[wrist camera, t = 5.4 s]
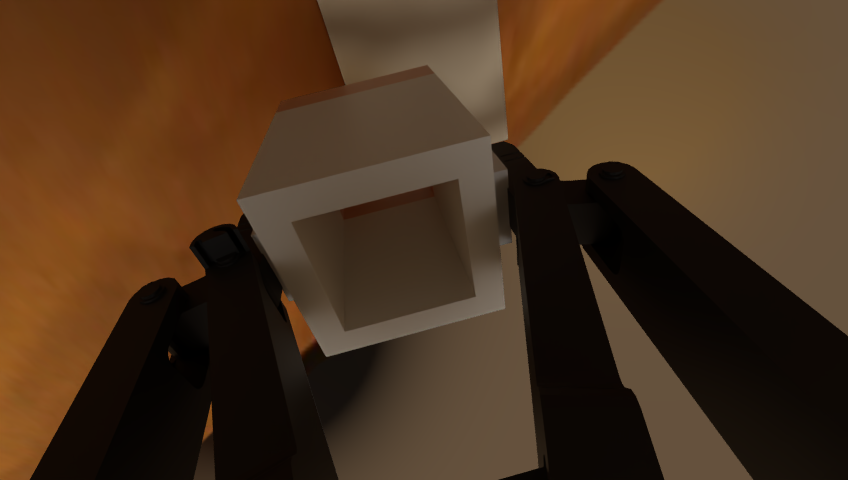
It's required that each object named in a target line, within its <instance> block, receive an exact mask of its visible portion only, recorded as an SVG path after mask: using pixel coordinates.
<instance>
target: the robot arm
mask: <svg viewBox="0 0 848 480" xmlns="http://www.w3.org/2000/svg"><path fill="white" fill-rule="evenodd" d="M491 147H492V159H493V170H494V182H495V194H496V206H497V218H498V229H499V241H500V245H504V244H507V243H511V242H512V236H511V229H512V231H513V232H514V234H515V235H516V244H517V262H518V263H517V264H518V266H519V275H520V285H521V295H522V305H523V315H524V323H525V324H524V325H525V334H526V344H527V354H528V364H529V374H530V384H531V393H532V403H533V413H534V423H535V433H536V442H537V453H538V464H539V465H538V466H539V468H538V469H535V470H531V471H528V472H524V473H521V474H517V475H514V476H510V477H507V478H503V479H500V480H664V477H663V474H662V471H661V469H660V465H659V462H658V459H657V456H656V453H655V450H654V447H653V444H652V441H651V438H650V435H649V432H648V429H647V426H646V422H645V420H644V417H643V413H642V410H641V408H640V405H639V403H638V400H637V398H636V396H635V394H634V393H633V391H632V390H631V389H628V388H625V387H624V386H623V384H622V382H621V379H620V377H619V373H618V370H617V367H616V364H615V360H614V357H613V354H612V351H611V347H610V344H609V341H608V337H607V334H606V331H605V327H604V324H603V321H602V317H601V314H600V311H599V308H598V304H597V301H596V298H595V294H594V291H593V288H592V285H591V281H590V279H589V275H588V272H587V268H586V265H585V262H584V258H583V255H582V252H581V248H580V245H582V246H583V249H584V250H585V251H586V252H587V254H588V255H589V257H590V258H591V259H592V261H593V262H594V263H595V265H596V266H597V267H598V269H599V270H600V272H601V273H602V274H603V276H604V277H605V278H606V280H607V281H608V283H609V284H610V285H611V287H612V288H613V289H614V291H615V292H616V293H617V295H618V296H619V297H620V299H621V300H622V301H623V303H624V304H625V306H626V307H627V308H628V310H629V311H630V312H631V314H632V315H633V317H634V318H635V319H636V321H637V322H638V323H639V325H640V326H641V327H642V329H643V330H644V331H645V333H646V334H647V336H648V337H649V338H650V339H651V341H652V342H653V344H654V345H655V346H656V348H657V349H658V351H659V352H660V353H661V355H662V356H663V357H664V358H665V360H666V361H667V363H668V364H669V365H670V367H671V368H672V370H673V371H674V372H675V374H676V375H677V376H678V378H679V379H680V380H681V382H682V383H683V385H684V386H685V387H686V388H687V390H688V391H689V393H690V394H691V395H692V397H693V398H694V399H695V401H696V402H697V404H698V405H699V406H700V407H701V409H702V410H703V412H704V413H705V414H706V416H707V417H708V418H709V420H710V421H711V423H712V424H713V425H714V427H715V428H716V429H717V431H718V432H719V433H720V435H721V436H722V438H723V439H724V440H725V442H726V443H727V444H728V445H729V447H730V448H731V450H732V451H733V452H734V454H735V455H736V456H737V458H738V459H739V461H740V462H741V463H742V465H743V466H744V467H745V469H746V470H747V472H748V473H749V474H750V476H751V477H752V478H753V480H848V336H847V335H846V334H845V333H843V332H842V331H841V330H839V329H838V328H837V327H836V326H834V325H833V324H832V323H831V322H829V321H828V320H827V319H826V318H824V317H823V316H822V315H821V314H819V313H818V312H817V311H815V310H814V309H813V308H811V307H810V306H809V305H808V304H806V303H805V302H804V301H803V300H802V299H800V298H799V297H798V296H796V295H795V294H794V293H793V292H791V291H790V290H789V289H787V288H786V287H785V286H784V285H782V284H781V283H780V282H779V281H777V280H776V279H775V278H774V277H772V276H771V275H770V274H769V273H767V272H766V271H765V270H763V269H762V268H761V267H760V266H758V265H757V264H756V263H755V262H753V261H752V260H751V259H750V258H748V257H747V256H746V255H744V254H743V253H742V252H741V251H739V250H738V249H737V248H736V247H734V246H733V245H732V244H731V243H729V242H728V241H727V240H725V239H724V238H723V237H722V236H720V235H719V234H718V233H717V232H715V231H714V230H713V229H712V228H710V227H709V226H708V225H706V224H705V223H704V222H703V221H701V220H700V219H699V218H698V217H696V216H695V215H694V214H692V213H691V212H690V211H689V210H687V209H686V208H685V207H684V206H682V205H681V204H680V203H679V202H677V201H676V200H675V199H673V198H672V197H671V196H670V195H668V194H667V193H666V192H665V191H663V190H662V189H661V188H660V187H658V186H657V185H656V184H655V183H653V182H652V181H651V180H649V179H648V178H647V177H646V176H644V175H643V174H642V173H640V172H639V171H638V170H637V169H635V168H634V167H632V166H630V165H628V164H624V163H620V162H605V163H600V164H597V165H594V166H592V167H591V168H590V169H588V172H587V180H575V181H574V180H573V181H560V180H559V177H558V175H557V174H556V173H555V172H553V171H550V170H546V169H537V168H535V166H534V165H533V164H532V163H531V162H530V161H529V160H528V159H527V158H526V157H524V155H523V154H522V153H521V152H520V151H519V150H518V149H517V148H516V147H515V146H514V145H512V144H510V143H507V142H504V141H503V142H499V143H495V144H491ZM189 248H190V249H191V251H192V252H193V253H194V255H195V256H196V257H197V259H198V260H199V262H200V263H201V264H202V266H203V267H204V268H205V274H206V276H204V277H202V278H200V279H198V280H196V281H194V282H191V283H189V284H187V285H185V286H183V287H181V286H180V284H179V283H178V282H177V281H176V280H175V278H163V279H159V280H157V281H154V282H150V283H148V284H147V285H145V286H143V287H142V288H141V289H140V290H139V291H138V292H137V293H135V294H134V295H133V296H132V298H131V299H130V300H129V302H128V303H127V305H126V307H125V309H124V311H123V312H122V314H121V316H120V318H119V320H118V321H117V323H116V325H115V327H114V329H113V330H112V332H111V334H110V336H109V338H108V339H107V341H106V343H105V345H104V347H103V349H102V350H101V352H100V354H99V356H98V358H97V359H96V361H95V363H94V365H93V367H92V368H91V370H90V372H89V374H88V376H87V377H86V379H85V381H84V383H83V385H82V386H81V388H80V390H79V392H78V394H77V395H76V397H75V399H74V401H73V403H72V404H71V406H70V408H69V410H68V412H67V414H66V415H65V417H64V419H63V421H62V423H61V424H60V426H59V428H58V430H57V432H56V433H55V435H54V437H53V439H52V441H51V442H50V444H49V446H48V448H47V450H46V451H45V453H44V455H43V457H42V459H41V460H40V462H39V464H38V466H37V468H36V469H35V471H34V473H33V475H32V477H31V478H30V480H193V479H194V474H195V470H196V466H197V461H198V457H199V452H200V448H201V444H202V440H203V435H204V431H205V427H206V422H207V418H208V414H209V409H210V405H211V401H212V420H213V441H214V460H215V461H214V462H215V480H338V477H337V473H336V470H335V467H334V464H333V460H332V457H331V454H330V451H329V447H328V444H327V441H326V437H325V435H324V431H323V427H322V424H321V421H320V418H319V414H318V411H317V408H316V405H315V401H314V398H313V395H312V392H311V388H310V385H309V382H308V378H307V375H306V372H305V369H304V365H303V362H302V359H301V356H300V352H299V349H298V346H297V342H296V339H295V336H294V333H293V329H292V326H291V323H290V320H289V316H288V313H287V310H286V308H285V306H284V305H283V303H282V301H281V294H282V289H283V291H284V293H285V295H286V296H287V298H288V300H289V301H293V298H292V296H291V294H290V293H289V291H288V289H287V287H286V286H285V284H284V282H283V280H282V279H281V277H280V275H279V273H278V272H277V270H276V268H275V266H274V265H273V263H272V261H271V259H270V258H269V256H268V254H267V252H266V251H265V249H264V247H263V245H262V244H261V242H260V240H259V238H258V237H257V235H256V233H255V231H254V230H253V228H252V226H251V224H250V223H249V221H248V219H247V218H246V216H245V214H243V215H242V216H241V218H240V221H239V223H238V226H237V227H236V226H235V225H233V224H222V225H219V226H215V227H212V228H210V229H208V230H206V231H204V232H203V233H201V234H200V235H198V236H197V237H196V238H195V239H194V240H193V241H192V242H191V245H190V247H189ZM168 351H169V352H170V353H171V354H172V355H171V358H170V360H169V356H168Z"/></svg>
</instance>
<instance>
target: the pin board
mask: <svg viewBox="0 0 848 480" xmlns="http://www.w3.org/2000/svg"><path fill="white" fill-rule="evenodd" d="M317 1H318V4H319V7H320V10H321V13H322V16H323V19H324V22H325V25H326V28H327V31H328V34H329V37H330V40H331V43H332V46H333V49H334V52H335V55H336V58H337V61H338V64H339V67H340V70H341V73H342V76H343V79H344V82H345V85H348V84H352V83H356V82H360V81H364V80H368V79H372V78H376V77H381V76H385V75H389V74H393V73H397V72H401V71H405V70H409V69H413V68H417V67H421V66H425V65H428V66H429V67H430V68H431V70H432V71H433V72H434V73H435V74H436V75H437V76H438V77H439V78H440V80H441V81H442V82H443V83H444V84H445V85H446V86H447V87H448V88H449V90H450V91H451V92H452V93H453V94H454V95H455V96H456V97H457V98H458V100H459V101H460V102H461V103H462V104H463V105H464V106H465V107H466V109H467V110H468V111H469V112H470V113H471V114H472V115H473V116H474V117H475V119H476V120H477V121H478V122H479V123H480V124H481V125H482V126H483V127H484V129H485V130H486V131H487V132H488V133H489V134H490V135H491V144H492V143H496V142H500V141H503V140H507V139H508V133H507V120H506V108H505V95H504V83H503V70H502V57H501V45H500V32H499V19H498V7H497V0H317Z"/></svg>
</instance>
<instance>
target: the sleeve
mask: <svg viewBox="0 0 848 480" xmlns="http://www.w3.org/2000/svg"><path fill="white" fill-rule="evenodd" d="M237 202H238V204H239V205H240V207H241V209H242V211H243V212H244V214H245V216H246V218H247V219H248V221H249V223H250V224H251V226H252V228H253V230H254V231H255V233H256V235H257V237H258V238H259V240H260V242H261V244H262V245H263V247H264V249H265V251H266V252H267V254H268V256H269V258H270V259H271V261H272V263H273V265H274V266H275V268H276V270H277V272H278V273H279V275H280V277H281V279H282V280H283V282H284V284H285V286H286V287H287V289H288V291H289V293H290V294H291V296H292V298H293V300H294V301H295V303H296V305H297V306H298V308H299V310H300V312H301V313H302V315H303V317H304V319H305V320H306V322H307V324H308V326H309V327H310V329H311V331H312V333H313V334H314V336H315V338H316V340H317V341H318V343H319V345H320V347H321V348H322V350H323V352H324V354H325V355H326V357H328V356H331V355H335V354H339V353H343V352H346V351H350V350H354V349H357V348H361V347H365V346H368V345H372V344H376V343H379V342H383V341H387V340H391V339H394V338H398V337H402V336H405V335H409V334H413V333H416V332H420V331H424V330H427V329H431V328H435V327H439V326H442V325H446V324H450V323H453V322H457V321H461V320H464V319H468V318H472V317H475V316H479V315H483V314H487V313H491V312H494V311H498V310H502V309H505V300H504V290H503V289H504V288H503V277H502V266H501V253H500V241H499V229H498V218H497V206H496V194H495V182H494V170H493V159H492V147H491V135H490V134H489V133H488V132H487V131H486V130H485V129H484V127H483V126H482V125H481V124H480V123H479V122H478V121H477V120H476V119H475V117H474V116H473V115H472V114H471V113H470V112H469V111H468V110H467V109H466V107H465V106H464V105H463V104H462V103H461V102H460V101H459V100H458V98H457V97H456V96H455V95H454V94H453V93H452V92H451V91H450V90H449V88H448V87H447V86H446V85H445V84H444V83H443V82H442V81H441V80H440V78H439V77H438V76H437V75H436V74H435V73H434V72H433V71H432V70H431V68H430V67H429V66H428V65H425V66H421V67H417V68H413V69H409V70H405V71H401V72H397V73H393V74H389V75H385V76H381V77H376V78H372V79H368V80H364V81H360V82H356V83H352V84H348V85H344V86H340V87H336V88H332V89H328V90H324V91H320V92H316V93H312V94H308V95H304V96H300V97H296V98H292V99H288V100H284V101H281V102H280V104H279V107H278V109H277V111H276V113H275V116H274V118H273V120H272V122H271V124H270V127H269V129H268V131H267V133H266V136H265V138H264V140H263V142H262V144H261V147H260V149H259V151H258V153H257V156H256V158H255V160H254V162H253V165H252V167H251V169H250V171H249V173H248V176H247V178H246V180H245V182H244V185H243V187H242V189H241V191H240V193H239V196H238V198H237Z"/></svg>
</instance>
